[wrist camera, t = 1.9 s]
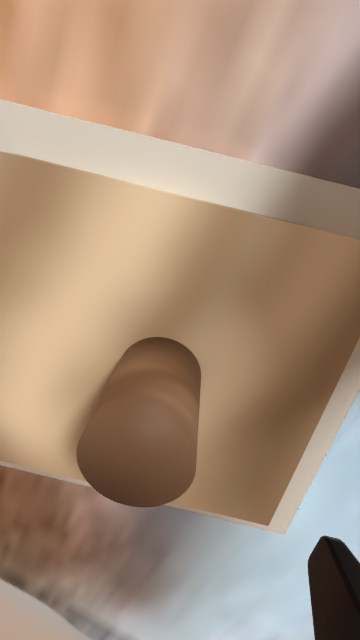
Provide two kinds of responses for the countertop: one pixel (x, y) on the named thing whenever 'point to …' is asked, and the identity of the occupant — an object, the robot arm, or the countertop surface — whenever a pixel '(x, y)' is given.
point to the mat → (213, 186)
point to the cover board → (173, 290)
